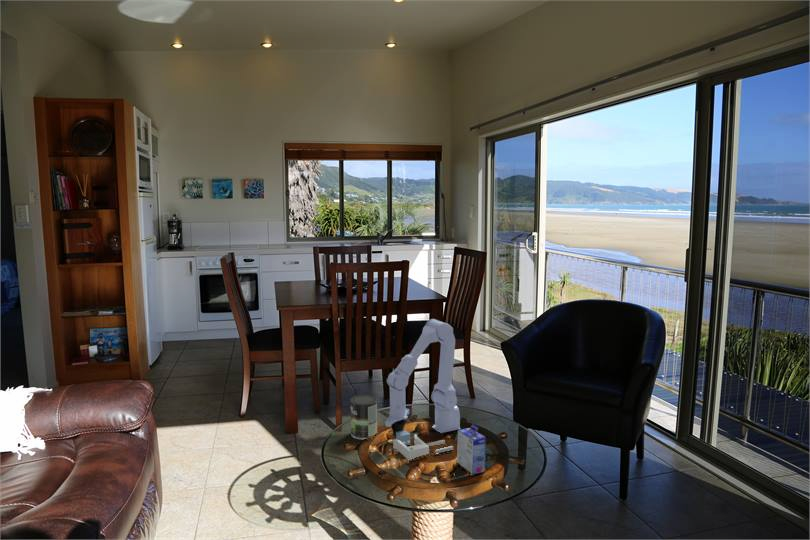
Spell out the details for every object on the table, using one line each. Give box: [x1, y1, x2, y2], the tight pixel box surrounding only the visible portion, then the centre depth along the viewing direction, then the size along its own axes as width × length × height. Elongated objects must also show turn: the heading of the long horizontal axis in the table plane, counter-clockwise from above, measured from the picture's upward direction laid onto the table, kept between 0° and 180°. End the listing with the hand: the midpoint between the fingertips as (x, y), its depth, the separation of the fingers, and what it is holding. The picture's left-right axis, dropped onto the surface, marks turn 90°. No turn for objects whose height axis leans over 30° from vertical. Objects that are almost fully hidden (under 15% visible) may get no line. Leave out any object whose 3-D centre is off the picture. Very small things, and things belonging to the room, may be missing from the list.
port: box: [392, 434, 430, 461], centre depth 206 cm, size 10×11×4 cm
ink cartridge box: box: [456, 424, 487, 475], centre depth 194 cm, size 10×6×14 cm, turn 27°
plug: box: [396, 429, 412, 447], centre depth 212 cm, size 4×5×5 cm
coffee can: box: [349, 394, 378, 441], centre depth 222 cm, size 10×10×14 cm
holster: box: [426, 439, 454, 453], centre depth 208 cm, size 7×7×2 cm
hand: (397, 438), depth 216 cm, fingers closed
